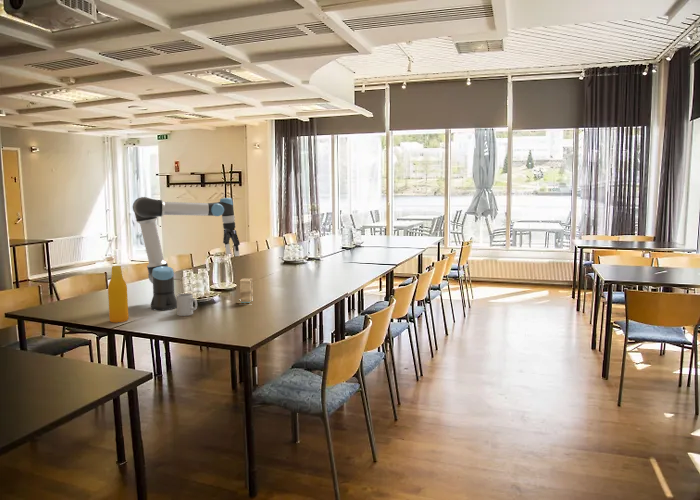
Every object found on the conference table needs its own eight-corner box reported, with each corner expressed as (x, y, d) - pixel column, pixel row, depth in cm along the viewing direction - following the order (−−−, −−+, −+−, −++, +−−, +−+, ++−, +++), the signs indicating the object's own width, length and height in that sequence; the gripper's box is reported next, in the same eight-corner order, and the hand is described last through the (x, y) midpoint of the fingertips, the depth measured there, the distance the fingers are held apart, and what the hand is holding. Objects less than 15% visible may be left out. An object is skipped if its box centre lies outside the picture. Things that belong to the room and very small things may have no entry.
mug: (173, 315, 285) (173, 295, 284) (183, 311, 293) (182, 292, 292) (192, 317, 281) (191, 297, 280) (201, 313, 289) (201, 294, 288)
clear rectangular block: (250, 303, 312) (249, 280, 310) (240, 303, 312) (240, 280, 311) (252, 301, 318) (252, 278, 316) (243, 301, 318) (242, 278, 317)
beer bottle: (127, 322, 271) (124, 267, 267) (108, 323, 268) (105, 268, 264) (129, 317, 279) (127, 264, 276) (111, 319, 277) (108, 265, 273)
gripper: (242, 222, 322) (246, 255, 325) (226, 220, 342) (230, 252, 345) (231, 223, 317) (235, 257, 321) (215, 222, 337) (219, 254, 341)
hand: (232, 255), depth 333 cm, fingers open, 13 cm apart
